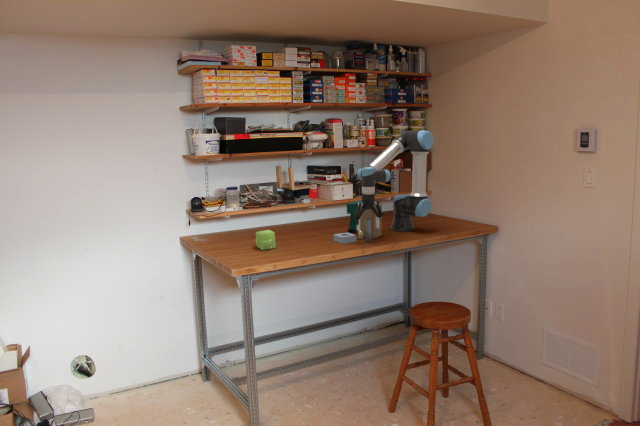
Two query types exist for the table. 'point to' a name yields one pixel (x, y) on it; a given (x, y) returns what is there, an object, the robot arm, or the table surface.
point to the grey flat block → (344, 238)
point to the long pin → (368, 229)
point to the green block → (265, 239)
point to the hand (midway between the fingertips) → (368, 229)
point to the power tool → (350, 210)
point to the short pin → (360, 234)
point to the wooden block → (370, 214)
